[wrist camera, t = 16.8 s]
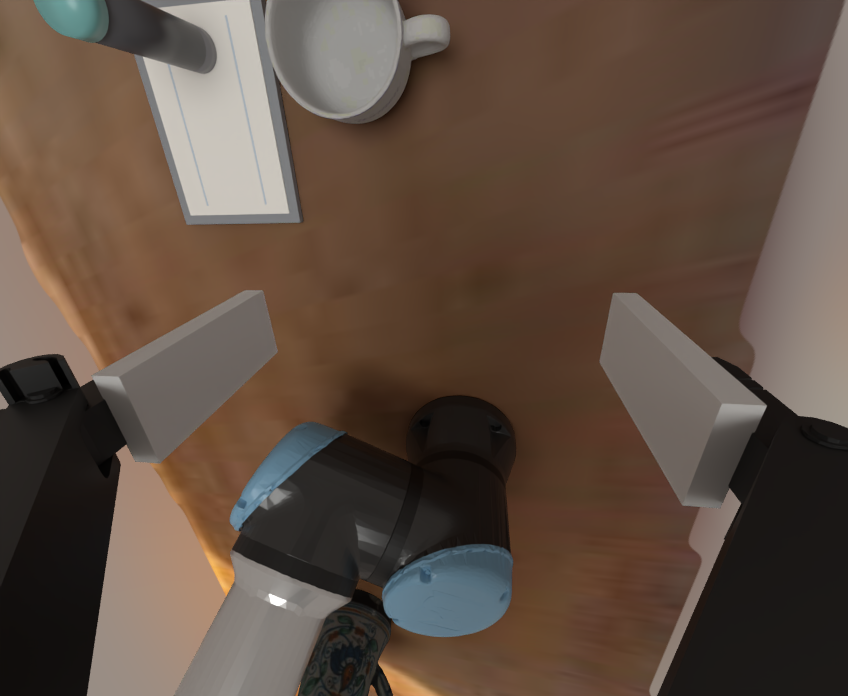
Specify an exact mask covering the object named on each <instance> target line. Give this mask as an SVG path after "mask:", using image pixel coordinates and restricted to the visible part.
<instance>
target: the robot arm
mask: <svg viewBox="0 0 848 696" xmlns="http://www.w3.org/2000/svg"><path fill="white" fill-rule="evenodd" d="M277 352H278V351H277V347H276V343H275V338H274V334H273V330H272V326H271V322H270V318H269V314H268V309H267V305H266V301H265V297H264V293H263V290H245V291H243V292H241V293H239V294H238V295H236V296H234V297H232V298H230V299H229V300H227V301H225V302H223V303H221V304H220V305H218V306H216V307H214V308H212V309H211V310H209V311H207V312H205V313H203V314H202V315H200V316H198V317H196V318H194V319H192V320H191V321H189V322H187V323H185V324H183V325H182V326H180V327H178V328H176V329H174V330H173V331H171V332H169V333H167V334H165V335H164V336H162V337H160V338H158V339H156V340H155V341H153V342H151V343H149V344H147V345H146V346H144V347H142V348H140V349H138V350H137V351H135V352H133V353H131V354H129V355H128V356H126V357H124V358H122V359H120V360H118V361H117V362H115V363H113V364H111V365H109V366H108V367H106V368H104V369H102V370H100V371H99V372H97V373H95V374H94V375H92V378H93V380H92V381H90V382H88V383H87V384H85V385H83V386H81V387H80V386H79V384H78V382H77V380H76V378H75V376H74V375H73V373H72V371H71V369H70V367H69V366H68V364H67V362H66V360H65V358H64V356H62V355H59V354H48V355H42V356H36V357H32V358H27V359H24V360H20V361H17V362H15V363H12V364H9V365H7V366H4V367H2V368H0V392H1V393H2V395H3V396H4V398H5V400H6V401H7V403H8V404H9V406H8V407H7V409H1V410H0V696H87V690H88V683H89V676H90V669H91V663H92V656H93V649H94V643H95V636H96V629H97V622H98V615H99V609H100V601H101V595H102V588H103V581H104V574H105V568H106V561H107V554H108V547H109V541H110V534H111V526H112V521H113V514H114V507H115V500H116V493H117V486H118V480H119V473H120V466H121V464H120V461H119V459H118V457H117V455H116V452H117V451H119V450H120V449H121V448H122V447H124V446H125V445H126V444H127V446H128V448H129V450H130V452H131V454H132V456H133V458H134V460H135V462H148V463H161V462H162V461H163V460H164V459H165V458H166V457H167V456H168V455H169V454H170V453H172V452H173V451H174V450H175V449H176V448H177V447H178V446H179V445H180V444H181V443H182V442H183V441H184V440H185V439H186V438H187V437H188V436H190V435H191V434H192V433H193V432H194V431H195V430H196V429H197V428H198V427H199V426H200V425H201V424H202V423H203V422H204V421H205V420H206V419H207V418H209V417H210V416H211V415H212V414H213V413H214V412H215V411H216V410H217V409H218V408H219V407H220V406H221V405H222V404H223V403H224V402H225V401H227V400H228V399H229V398H230V397H231V396H232V395H233V394H234V393H235V392H236V391H237V390H238V389H239V388H240V387H241V386H242V385H243V384H245V383H246V382H247V381H248V380H249V379H250V378H251V377H252V376H253V375H254V374H255V373H256V372H257V371H258V370H259V369H260V368H261V367H262V366H264V365H265V364H266V363H267V362H268V361H269V360H270V359H271V358H272V357H273V356H274V355H275V354H276V353H277ZM600 364H601V366H602V368H603V369H604V371H605V373H606V374H607V376H608V378H609V380H610V381H611V383H612V385H613V387H614V388H615V390H616V392H617V393H618V395H619V397H620V399H621V400H622V402H623V404H624V406H625V407H626V409H627V411H628V412H629V414H630V416H631V418H632V419H633V421H634V423H635V424H636V426H637V428H638V430H639V431H640V433H641V435H642V437H643V438H644V440H645V442H646V443H647V445H648V447H649V449H650V450H651V452H652V454H653V456H654V457H655V459H656V461H657V462H658V464H659V466H660V468H661V469H662V471H663V473H664V474H665V476H666V478H667V480H668V481H669V483H670V485H671V487H672V488H673V490H674V492H675V493H676V495H677V497H678V499H679V500H680V502H681V504H682V505H684V506H696V507H709V508H721V505H722V503H723V501H724V499H725V497H726V494H727V492H728V490H729V488H730V489H731V490H732V492H733V493H734V494H735V495H736V497H737V498H738V500H739V501H740V502H741V505H740V507H739V509H738V511H737V513H736V515H735V517H734V520H733V521H732V524H731V526H730V528H729V530H728V532H727V534H726V536H725V538H724V539H725V541H724V543H723V545H722V548H721V550H720V552H719V555H718V557H717V559H716V562H715V564H714V566H713V568H712V571H711V573H710V575H709V578H708V580H707V582H706V584H705V587H704V589H703V591H702V594H701V596H700V598H699V601H698V603H697V605H696V607H695V610H694V612H693V614H692V617H691V619H690V621H689V624H688V626H687V628H686V630H685V633H684V635H683V638H682V640H681V642H680V644H679V647H678V649H677V651H676V653H675V656H674V658H673V661H672V663H671V665H670V667H669V670H668V672H667V674H666V677H665V679H664V681H663V684H662V686H661V688H660V691H659V693H658V695H657V696H848V428H846V427H843V426H841V425H838V424H835V423H833V422H829V421H825V420H821V419H817V418H813V417H803V416H798V415H797V414H795V413H794V412H793V411H792V410H790V409H789V408H788V407H787V406H785V405H784V404H783V403H782V402H781V401H779V400H778V399H777V398H775V397H774V396H773V395H772V394H771V393H769V392H768V391H767V390H763V387H762V386H761V385H760V384H758V383H757V382H756V381H754V380H752V378H751V377H750V376H748V375H747V374H746V373H745V372H744V371H742V370H741V369H740V368H739V367H737V366H735V365H733V364H731V363H729V362H727V361H724V360H722V359H720V358H718V357H710V356H709V355H708V354H707V353H706V352H704V351H703V350H702V349H701V348H700V347H699V346H697V345H696V344H695V343H694V342H693V341H692V340H690V339H689V338H688V337H687V336H686V335H685V334H684V333H682V332H681V331H680V330H679V329H678V328H677V327H675V326H674V325H673V324H672V323H671V322H670V321H668V320H667V319H666V318H665V317H664V316H663V315H662V314H660V313H659V312H658V311H657V310H656V309H655V308H653V307H652V306H651V305H650V304H649V303H648V302H646V301H645V300H644V299H643V298H642V297H641V296H640V295H638V294H637V293H613V296H612V301H611V306H610V311H609V316H608V321H607V326H606V331H605V337H604V342H603V347H602V352H601V357H600ZM347 434H348V433H347V432H346V431H338V430H335V429H332V428H330V427H327V426H325V425H322V424H319V423H316V422H305V423H302V424H300V425H298V426H296V427H295V428H293V429H292V430H291V431H290V432H289V433H288V434H286V435H285V436H284V437H283V438H282V439H281V441H280V442H279V443H278V444H277V445H276V446H275V447H274V448H273V450H272V451H271V452H270V453H269V454H268V456H267V457H266V458H265V460H264V461H263V462H262V464H261V465H260V466H259V468H258V469H257V470H256V472H255V473H254V475H253V476H252V477H251V479H250V480H249V482H248V483H247V485H246V487H245V488H244V490H243V492H242V496H241V497H240V498H239V500H238V501H237V503H236V504H235V506H234V508H233V510H232V513H231V516H230V523H231V525H232V526H233V527H234V529H235V530H237V531H241V530H242V531H241V534H240V535H239V537H238V539H237V541H236V543H235V544H234V546H233V548H232V550H231V552H230V555H231V559H232V564H233V568H234V572H235V581H234V583H233V585H232V587H231V589H230V591H229V592H228V594H227V596H226V598H225V600H224V602H223V604H222V606H221V608H220V609H219V611H218V613H217V615H216V617H215V619H214V621H213V623H212V625H211V626H210V628H209V630H208V632H207V634H206V636H205V638H204V640H203V642H202V643H201V646H200V647H199V649H198V651H197V653H196V655H195V657H194V659H193V660H192V662H191V664H190V666H189V668H188V670H187V672H186V674H185V675H184V678H183V679H182V681H181V683H180V685H179V687H178V689H177V691H176V693H175V695H174V696H295V695H296V692H297V690H298V687H299V685H300V682H301V679H302V677H303V674H304V672H305V669H306V667H307V664H308V662H309V659H310V657H311V654H312V652H313V649H314V647H315V644H316V642H317V639H318V637H319V634H320V632H321V629H322V627H323V624H324V621H325V619H326V617H327V616H328V615H329V614H330V613H332V612H333V611H335V610H337V609H338V608H340V607H342V606H344V605H345V604H347V603H349V602H350V601H351V599H352V596H353V594H354V591H355V588H356V586H357V583H358V581H359V579H363V580H365V581H368V582H370V583H373V584H375V585H377V586H380V587H382V588H383V592H382V600H383V606H384V610H385V613H386V614H387V616H388V617H389V618H392V619H393V621H394V623H395V624H397V625H398V626H400V627H402V628H403V629H406V630H408V631H411V632H414V633H418V634H422V635H427V636H435V637H454V636H461V635H467V634H471V633H475V632H478V631H481V630H483V629H485V628H487V627H489V626H491V625H492V624H494V623H495V622H497V621H498V620H499V619H500V618H501V617H502V616H503V615H504V613H505V612H506V610H507V608H508V606H509V604H510V601H511V595H512V567H513V559H512V556H511V549H510V537H509V525H508V512H507V500H506V488H505V486H506V483H507V480H508V477H509V475H510V472H511V469H512V466H513V464H514V461H515V456H516V443H515V435H514V431H513V428H512V426H511V424H510V422H509V420H508V419H507V418H506V416H505V415H504V414H503V413H502V412H501V411H500V410H498V409H497V408H496V407H494V406H493V405H491V404H489V403H487V402H485V401H482V400H480V399H476V398H472V397H467V396H449V397H443V398H439V399H436V400H434V401H432V402H430V403H428V404H426V405H425V406H423V407H422V408H421V409H420V410H419V411H418V412H417V413H416V414H415V415H414V417H413V419H412V420H411V423H410V426H409V429H408V433H407V437H406V451H407V456H408V461H406V460H404V459H401V458H399V457H397V456H395V455H392V454H390V453H388V452H386V451H383V450H381V449H379V448H377V447H374V446H372V445H370V444H368V443H365V442H363V441H361V440H359V439H356V438H354V437H352V436H350V435H347Z"/></svg>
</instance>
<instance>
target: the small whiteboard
mask: <svg viewBox="0 0 848 696" xmlns="http://www.w3.org/2000/svg"><path fill="white" fill-rule="evenodd" d="M141 1H143V2H146V3H148V4H150V5H152V6H154V7H157V8H159V9H161V10H163V11H165V12H168V13H170V14H172V15H174V16H176V17H179V18H181V19H183V20H185V21H187V22H189V23H192V24H194V25H196V26H198V27H200V28H202V29H204V30H205V31H206V32H207V33H208V34H209V35H210V37H211V38H212V40H213V42H214V44H215V48H216V53H217V59H216V64H215V66H214V68H213V69H212V70H211V71H210V72H209V73H206V74H201V73H197V72H193V71H190V70H187V69H183V68H180V67H177V66H173V65H170V64H166V63H163V62H160V61H156V60H153V59H149V58H146V57H143V56H139V55H136V54H134V55H135V59H136V62H137V65H138V68H139V71H140V75H141V78H142V81H143V84H144V88H145V91H146V94H147V97H148V101H149V104H150V107H151V110H152V114H153V117H154V120H155V123H156V127H157V130H158V133H159V136H160V139H161V143H162V146H163V149H164V152H165V156H166V159H167V162H168V165H169V169H170V172H171V175H172V178H173V182H174V185H175V188H176V191H177V194H178V198H179V201H180V204H181V207H182V211H183V214H184V217H185V220H186V224H187V225H190V224H249V223H301V222H303V217H302V211H301V205H300V200H299V194H298V188H297V182H296V176H295V171H294V165H293V159H292V153H291V148H290V142H289V136H288V130H287V124H286V119H285V113H284V107H283V101H282V96H281V90H280V84H279V79H278V77H277V75H276V72H275V70H274V68H273V65H272V63H271V60H270V56H269V53H268V48H267V43H266V39H265V11H266V3H265V0H141Z"/></svg>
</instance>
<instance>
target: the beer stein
mask: <svg viewBox="0 0 848 696" xmlns="http://www.w3.org/2000/svg"><path fill="white" fill-rule="evenodd" d="M390 635H391V618H389V617H388V616H387V614H386V613H385V610H384V606H383V602H382V601H381V600H380V599H379V598H377V597H375V596H374V595H372V594H370V593H367V592H365V591H362V590H357V589H355V591H354V594H353V596H352V599H351V601H350V602H349V603H347V604H345V605H344V606H342V607H340V608H338V609H337V610H335V611H333V612H332V613H330V614H329V615H328V616H327V617H326V619H325V621H324V624H323V627H322V629H321V632H320V634H319V637H318V639H317V642H316V644H315V647H314V649H313V652H312V654H311V657H310V659H309V662H308V664H307V667H306V669H305V672H304V674H303V677H302V679H301V684H300V688H299V693H298V696H368V693H369V688H370V685H372V686H373V687H374V688H375V690H376V693H377V695H378V696H393V694H392V690H391V688H390V685H389V683H388V680H387V678H386V676H385V674H384V672H383V670H382V669H381V667H380V666H379V664H378V660H379V658H380V655H381V653H382V651H383V649H384V647H385V646H386V644H387V643H388V641H389V639H390Z"/></svg>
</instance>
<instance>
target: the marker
mask: <svg viewBox="0 0 848 696" xmlns="http://www.w3.org/2000/svg"><path fill="white" fill-rule="evenodd" d="M34 2H35V5H36V7H37V9H38V11H39V13H40V14H41V16H42V17H43V18H44V20H45V21H46V22H47V23H48V24H49V25H50V26H51V27H52V28H53V29H54V30H55V31H57V32H58V33H60V34H62V35H65V36H69V37H72V38H76V39H79V40H82V41H86V42H91V43H94V42H95V43H98V44H102V45H105V46H109V47H112V48H115V49H119V50H122V51H126V52H129V53H132V54H136V55H139V56H143V57H146V58H149V59H153V60H156V61H160V62H163V63H166V64H170V65H173V66H177V67H180V68H183V69H187V70H190V71H193V72H197V73H201V74H206V73H209V72H210V71H211V70H212V69H213V68H214V66H215V64H216V59H217V53H216V48H215V44H214V42H213V40H212V38H211V37H210V35H209V34H208V33H207V32H206V31H205V30H204V29H202V28H200V27H198V26H196V25H194V24H192V23H189V22H187V21H185V20H183V19H181V18H179V17H176V16H174V15H172V14H170V13H168V12H165V11H163V10H161V9H159V8H157V7H154V6H152V5H150V4H148V3H146V2H143V1H141V0H34Z"/></svg>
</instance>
